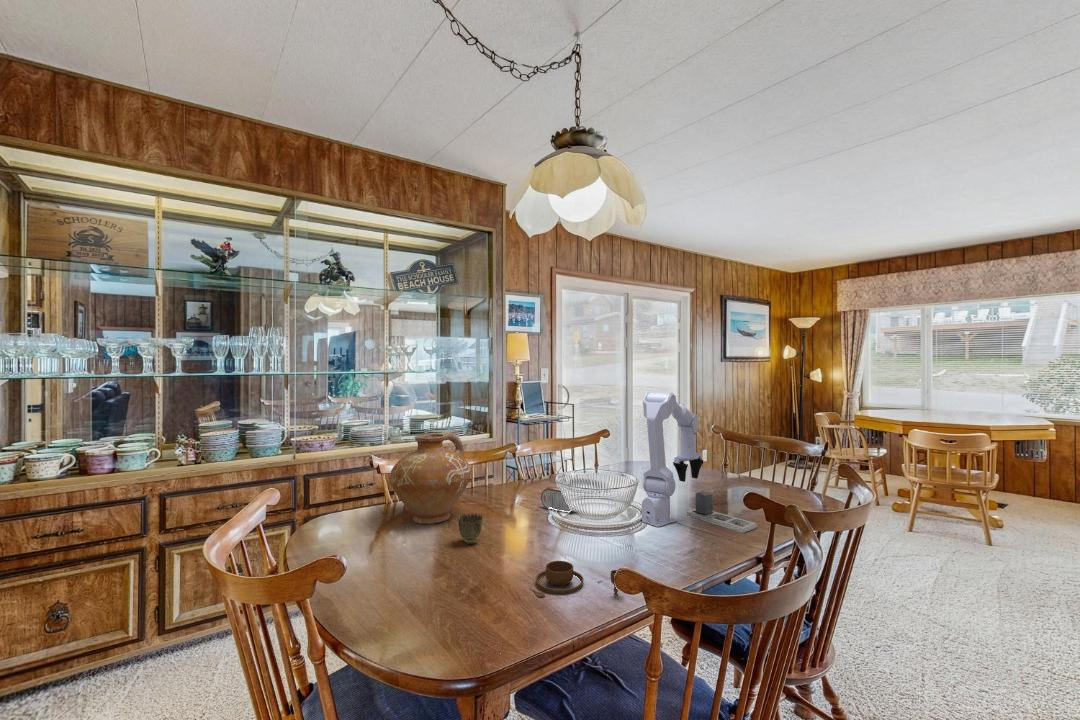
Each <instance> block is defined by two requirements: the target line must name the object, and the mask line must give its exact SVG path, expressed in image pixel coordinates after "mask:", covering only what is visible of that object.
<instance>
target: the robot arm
mask: <svg viewBox="0 0 1080 720" xmlns="http://www.w3.org/2000/svg"><path fill="white" fill-rule="evenodd" d="M642 408H643V410H642V411H643V417H644V418H646V425H647V426H646V427H647V435H648V436H647V440H648V453H649V463H650V465H649V466H650V467H648V468H647V469H645V471H644V472H643V480H642V489H643V490H644V492H646V495H647V497H645V498H644V499H643V500H642V502H641V519H642V521H641V522H643V523H645V524H648V525H651V526H654V527H659V528H660V527H661V526H665V525H668V524H672V523H674V522H676V521H677V520H676V519H673V518H671V496H673V495H674V493H675V492H676V491H675V490H676V485H677V484H676V480H675V478H674V472H673V471H672V470H671V469H670V468H668V467H667V465H666V451H665V440H664V437H665V436H664V427H663V426H664V424H663V423H664V420H668V419H669V418H670V416H671V417H672V418H673V419H675V421H676V423H677V426H678V427H679V429H680V433H679V434H680V437H679V438H680V454H679V455H677V456H676V457H673V462H672V464H673V466H674V469H675V470H676V473H677V475H678V481H679V482H683V483H684V482H686V478H687V476H686V475H687V470H688V467H689V465H690V473H691V474H690V475H691V478H692V479H695V480H697V479H698V478H699V474H700V470H701V469H702V465H703V463H704V459H703V453H700V452H697V432H698V428H699V427H698V426H699V421H700V420H699V416H698V415H697V414H696V413H695V412H691V411H690V410H689V409H688V408H687V407H686V406H685V405H684V404H681V403H680V404H679V403H678V402H677V397H676V395H675V394H674V393H673V392H651V391H647V392H646V393H645V395H644V396H643V399H642ZM686 462H689V464H688V463H686Z"/></svg>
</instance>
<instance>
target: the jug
mask: <svg viewBox="0 0 1080 720" xmlns="http://www.w3.org/2000/svg"><path fill="white" fill-rule="evenodd" d="M414 439H415V440H414V441H415V442H417V449H416V450H414V451H413V452H410V453H409V454H406V455H404V456H403V457H402V458H400V459H399V460H398V461H397V462H396V463H395V464H394V466H393V467H392V468H391V471H390V473H389V484H390V486H391V488H392V490H393V492H394V493H395V494H396V496H397V497H398V499H399V500H400V501H401V502H402V504H403V506H405V507H406V508H407V509H408V511H409V512H411V513H412V515H413V517H412V521H413V522H415V523H418V524H421V525H433V524H439V523H442V522H446V521H448V520H449V519H450V518H451V516H452V515H451V510H452V509H453V508H454V506H455V505H456V503H457V502H458V501H459V500H460V498H461V497H462V495H463V494H464V492H465V491H466V488H467V487H468V484H469V483H470V481H471V476H472V469H471V466H470V464H469V462H468V461H467V459H466V458H465V455H464V453H465V451H464V450H465V449H464V445H463V442H462V440H461V438H460V437H459V436H458V435H457V434H455V433H454V432H450V431H443V432H436V433H435V432H434V433H425V434H420V435H416V436H414ZM444 441H450V442H452V443H453V444H454V446H455V449H454V450H451V449H447V448H445V447H444V446H443V445H444V444H443V442H444Z"/></svg>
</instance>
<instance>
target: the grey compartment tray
mask: <svg viewBox="0 0 1080 720" xmlns="http://www.w3.org/2000/svg"><path fill="white" fill-rule="evenodd" d="M712 512H713V513H712V514H709V515H706V516H704V515H701V514H697V513H696V508H694V509H691V510H687V511H686V515H687V517H689V518H693V519H697V520H700V521H704V522H706V523H709V524H713V525H717V526H719V527H723V528H727V529H729V530H733V531H736V532H739V533H741V534H744V533H746V532H750V531H752V530H755V529H757V526H758V525H757V523H756V522H752V521H749V520H746V519H743V518H739V517H736V516H732V515H729V514H725V513H721V512H717V511H715V510H714V511H713V510H712ZM737 524H738V525H737Z"/></svg>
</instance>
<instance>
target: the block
mask: <svg viewBox="0 0 1080 720" xmlns="http://www.w3.org/2000/svg"><path fill="white" fill-rule="evenodd" d="M695 509H696V513H697V514H701V515H704V516H706V515H709V514H712V513H713V512H712V511H713V493H712V492H711V493H710V492H707V491H704V490H703V491H699V492H695Z"/></svg>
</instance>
